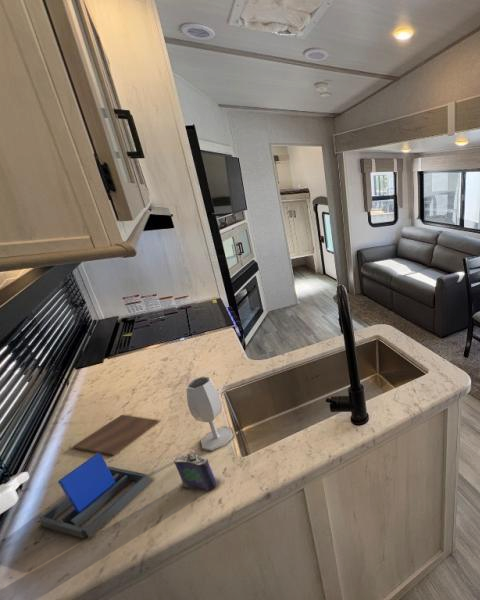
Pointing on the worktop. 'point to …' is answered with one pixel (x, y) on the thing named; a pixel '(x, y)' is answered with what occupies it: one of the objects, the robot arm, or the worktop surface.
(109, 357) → the worktop surface
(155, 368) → the worktop surface
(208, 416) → the wineglass
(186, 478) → the flask
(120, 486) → the rack
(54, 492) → the worktop surface
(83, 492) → the lid
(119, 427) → the board
